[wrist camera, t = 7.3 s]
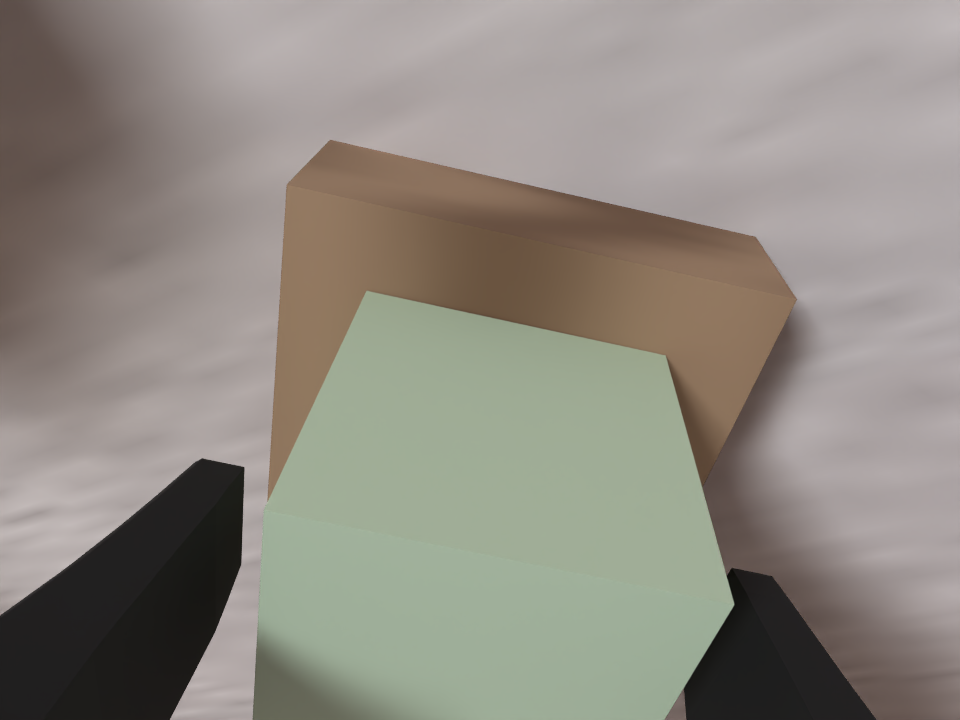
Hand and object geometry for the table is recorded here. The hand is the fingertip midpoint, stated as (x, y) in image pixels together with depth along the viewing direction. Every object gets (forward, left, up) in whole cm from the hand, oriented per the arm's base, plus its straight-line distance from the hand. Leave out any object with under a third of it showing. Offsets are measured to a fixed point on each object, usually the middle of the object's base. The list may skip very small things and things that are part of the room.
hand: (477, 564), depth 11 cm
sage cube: (0, 0, -3) cm, 3 cm away
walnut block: (0, 0, -6) cm, 6 cm away
